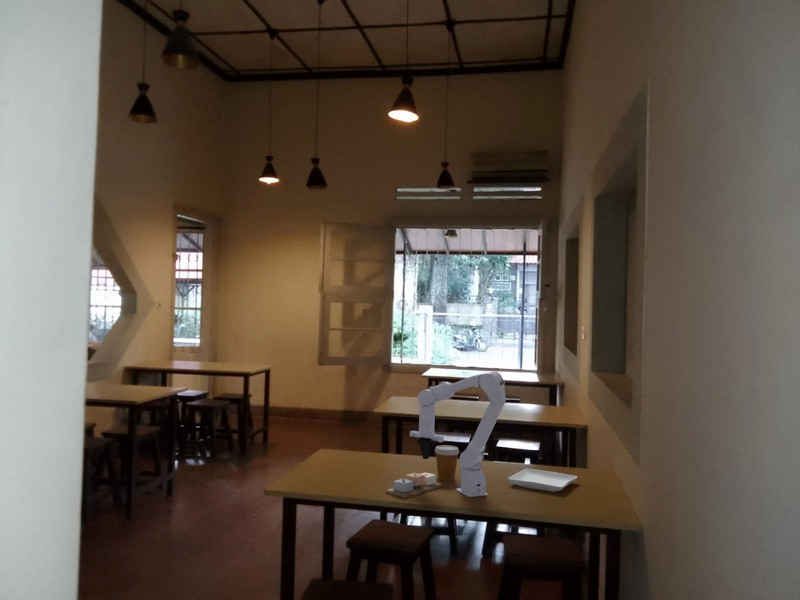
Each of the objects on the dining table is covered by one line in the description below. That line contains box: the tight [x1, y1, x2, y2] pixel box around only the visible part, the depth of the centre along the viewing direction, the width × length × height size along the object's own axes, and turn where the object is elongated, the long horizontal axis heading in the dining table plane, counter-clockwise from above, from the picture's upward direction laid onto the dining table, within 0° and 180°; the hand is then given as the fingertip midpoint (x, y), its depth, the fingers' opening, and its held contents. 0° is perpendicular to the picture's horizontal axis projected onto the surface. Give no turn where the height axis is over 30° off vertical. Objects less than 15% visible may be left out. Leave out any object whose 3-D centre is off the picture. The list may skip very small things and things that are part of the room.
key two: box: [404, 472, 425, 486], centre depth 228 cm, size 5×5×3 cm
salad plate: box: [507, 468, 578, 493], centre depth 240 cm, size 21×21×3 cm
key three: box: [392, 478, 413, 492], centre depth 223 cm, size 5×5×3 cm
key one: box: [421, 472, 437, 486], centre depth 233 cm, size 5×5×3 cm
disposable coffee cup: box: [434, 444, 460, 482], centre depth 245 cm, size 10×10×12 cm
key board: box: [385, 482, 443, 499], centre depth 228 cm, size 21×9×3 cm, turn 139°
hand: (425, 458), depth 234 cm, fingers closed
